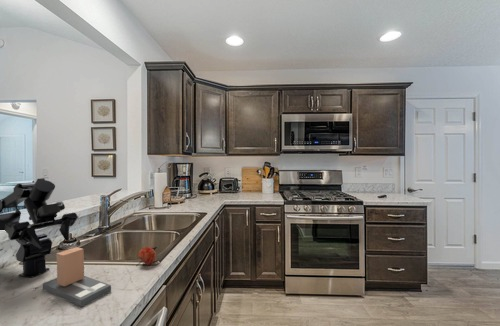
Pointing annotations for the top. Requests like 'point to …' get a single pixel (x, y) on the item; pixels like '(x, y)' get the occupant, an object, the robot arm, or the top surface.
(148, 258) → the pomegranate
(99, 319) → the top surface
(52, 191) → the robot arm
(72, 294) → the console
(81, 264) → the fader knob
